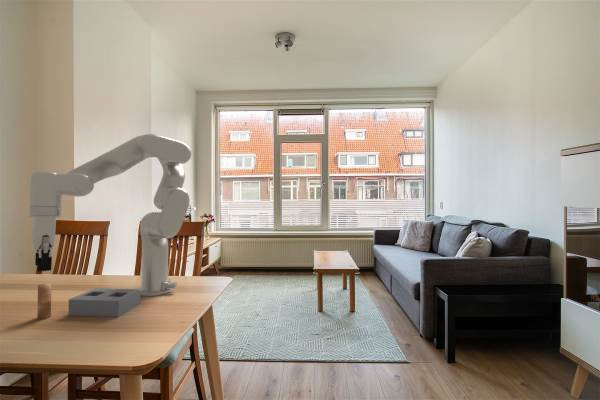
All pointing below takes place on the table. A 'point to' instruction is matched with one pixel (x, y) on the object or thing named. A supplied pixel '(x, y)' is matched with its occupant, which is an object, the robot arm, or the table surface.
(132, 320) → the table surface
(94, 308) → the bore block
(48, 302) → the dowel
